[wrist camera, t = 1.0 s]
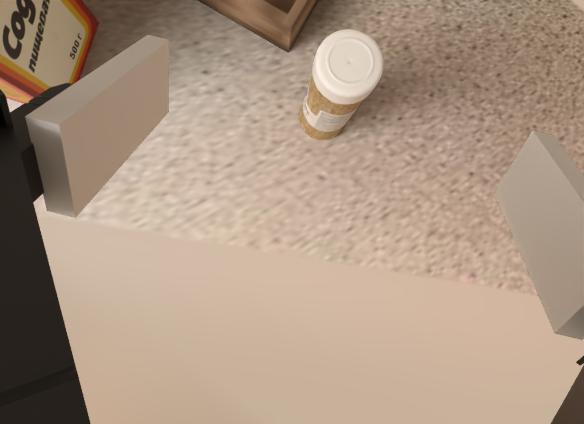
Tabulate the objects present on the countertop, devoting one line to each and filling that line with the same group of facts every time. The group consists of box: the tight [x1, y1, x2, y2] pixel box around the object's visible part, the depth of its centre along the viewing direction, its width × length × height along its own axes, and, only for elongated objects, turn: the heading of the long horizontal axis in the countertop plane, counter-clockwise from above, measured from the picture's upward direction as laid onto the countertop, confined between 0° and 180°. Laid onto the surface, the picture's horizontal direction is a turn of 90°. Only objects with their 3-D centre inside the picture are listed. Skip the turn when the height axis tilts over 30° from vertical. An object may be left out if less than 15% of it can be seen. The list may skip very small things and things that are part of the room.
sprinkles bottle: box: [299, 29, 383, 140], centre depth 33 cm, size 5×5×14 cm
